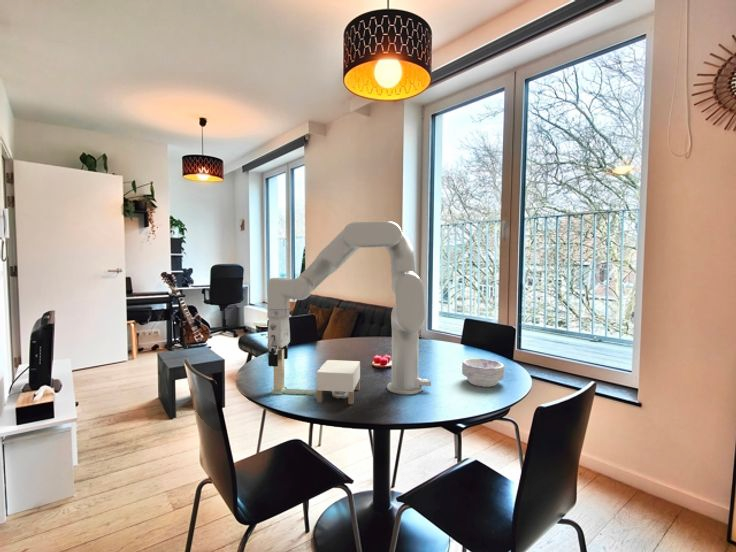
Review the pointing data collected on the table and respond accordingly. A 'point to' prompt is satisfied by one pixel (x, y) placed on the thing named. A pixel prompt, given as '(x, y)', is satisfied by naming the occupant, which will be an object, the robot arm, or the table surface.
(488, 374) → the paper bowls
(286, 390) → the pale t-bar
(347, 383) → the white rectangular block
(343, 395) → the silver dome
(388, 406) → the table surface
